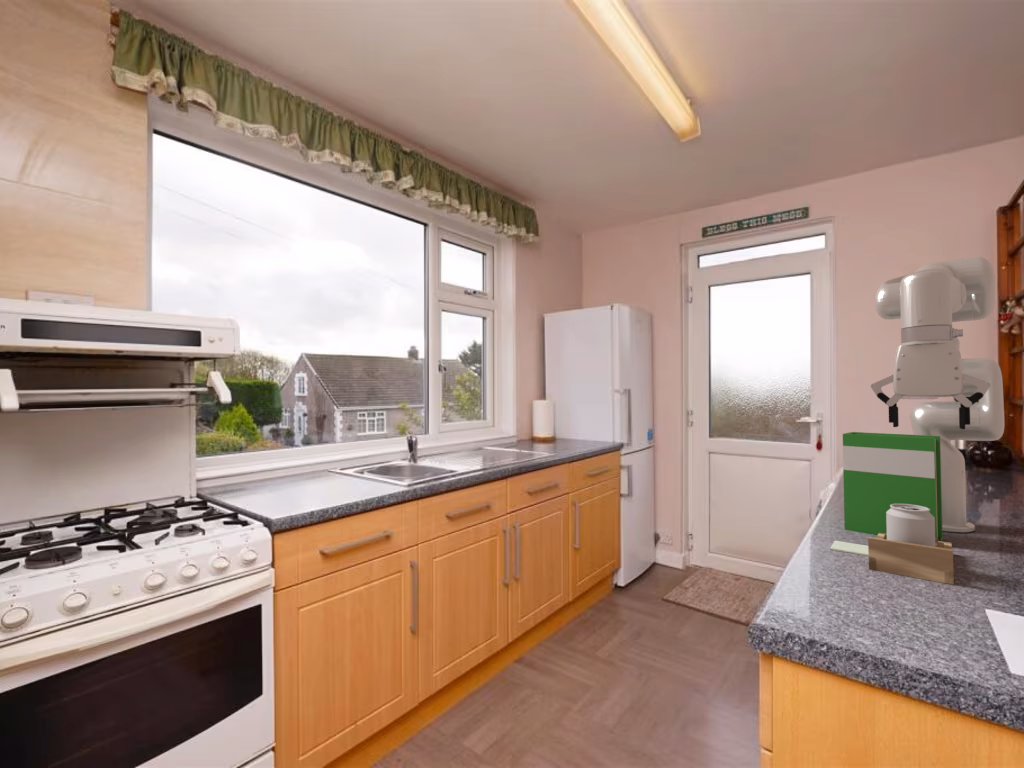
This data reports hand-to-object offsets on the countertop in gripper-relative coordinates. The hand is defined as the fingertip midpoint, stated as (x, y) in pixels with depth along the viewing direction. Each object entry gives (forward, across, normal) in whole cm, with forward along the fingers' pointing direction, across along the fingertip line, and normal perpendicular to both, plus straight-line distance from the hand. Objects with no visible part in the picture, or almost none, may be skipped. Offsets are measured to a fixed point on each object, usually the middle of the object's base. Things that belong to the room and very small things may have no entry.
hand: (928, 427), depth 94 cm
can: (+28, +3, -4) cm, 28 cm away
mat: (+28, +14, -10) cm, 32 cm away
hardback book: (+27, +7, -29) cm, 41 cm away
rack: (+28, +3, -8) cm, 29 cm away
